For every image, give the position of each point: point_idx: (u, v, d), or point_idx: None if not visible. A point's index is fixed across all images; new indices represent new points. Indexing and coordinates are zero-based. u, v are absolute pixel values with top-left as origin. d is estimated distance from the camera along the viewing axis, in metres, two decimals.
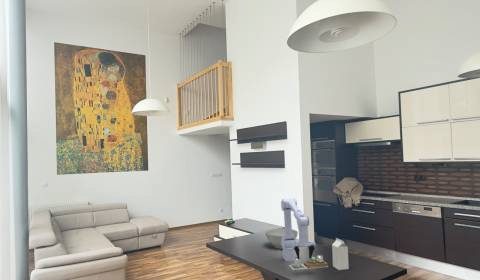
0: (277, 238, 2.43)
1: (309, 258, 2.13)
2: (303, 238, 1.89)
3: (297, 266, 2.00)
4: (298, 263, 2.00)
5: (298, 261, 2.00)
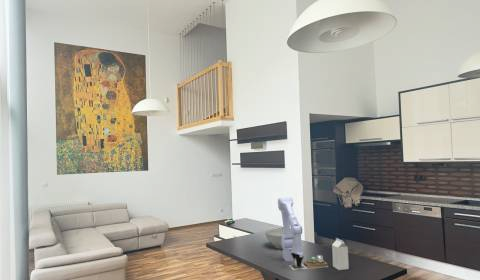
0: (277, 238, 2.43)
1: (309, 258, 2.13)
2: (292, 244, 2.03)
3: None
4: None
5: None
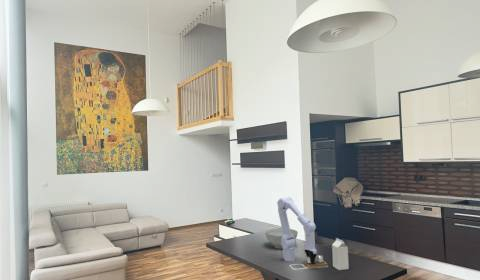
0: (277, 238, 2.43)
1: None
2: None
3: (310, 264, 2.00)
4: None
5: None
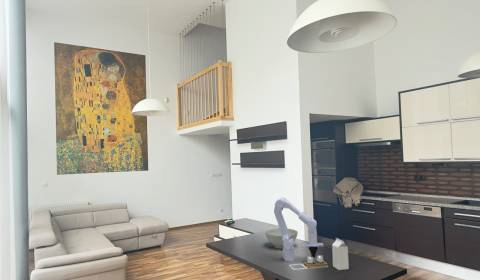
0: (277, 238, 2.43)
1: None
2: (312, 239, 2.09)
3: (310, 264, 2.00)
4: (311, 261, 2.00)
5: (311, 259, 2.01)
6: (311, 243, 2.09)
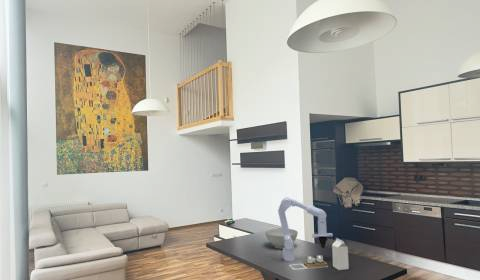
0: (277, 238, 2.43)
1: None
2: (322, 229, 2.12)
3: (310, 264, 2.00)
4: (311, 261, 2.00)
5: (311, 259, 2.01)
6: (321, 233, 2.12)
